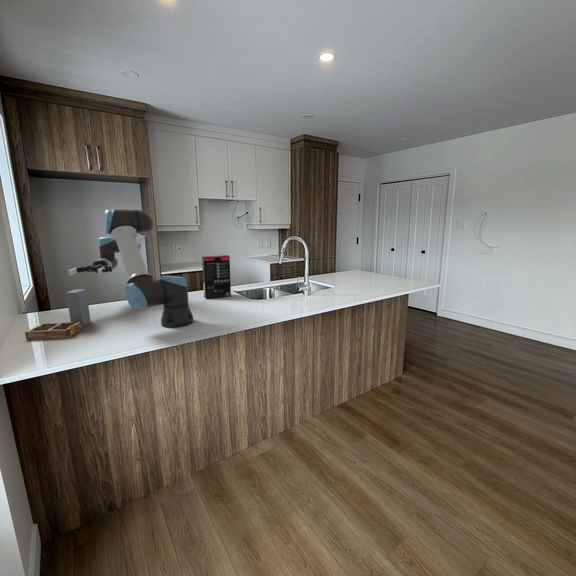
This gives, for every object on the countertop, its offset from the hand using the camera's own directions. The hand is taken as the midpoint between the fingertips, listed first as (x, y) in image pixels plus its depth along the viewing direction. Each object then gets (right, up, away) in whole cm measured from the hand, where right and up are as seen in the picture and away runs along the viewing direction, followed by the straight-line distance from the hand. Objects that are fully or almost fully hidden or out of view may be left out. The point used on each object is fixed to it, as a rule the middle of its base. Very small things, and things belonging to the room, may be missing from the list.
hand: (84, 272), depth 158 cm
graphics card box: (+56, -14, +50) cm, 77 cm away
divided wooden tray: (-2, -28, -16) cm, 33 cm away
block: (+1, -26, -4) cm, 26 cm away
